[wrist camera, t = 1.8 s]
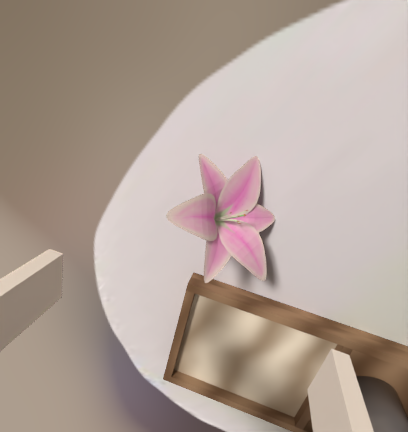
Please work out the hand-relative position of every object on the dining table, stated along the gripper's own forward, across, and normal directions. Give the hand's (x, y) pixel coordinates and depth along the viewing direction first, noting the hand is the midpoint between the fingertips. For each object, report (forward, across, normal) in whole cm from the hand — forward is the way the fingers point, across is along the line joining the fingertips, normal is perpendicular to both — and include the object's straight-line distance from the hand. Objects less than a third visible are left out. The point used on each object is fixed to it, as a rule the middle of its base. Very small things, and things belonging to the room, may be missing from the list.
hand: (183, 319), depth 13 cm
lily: (+18, 0, 0) cm, 18 cm away
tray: (+18, -13, +18) cm, 29 cm away
